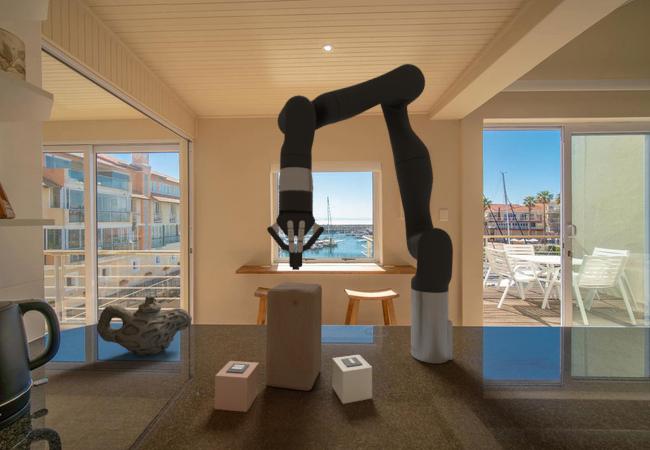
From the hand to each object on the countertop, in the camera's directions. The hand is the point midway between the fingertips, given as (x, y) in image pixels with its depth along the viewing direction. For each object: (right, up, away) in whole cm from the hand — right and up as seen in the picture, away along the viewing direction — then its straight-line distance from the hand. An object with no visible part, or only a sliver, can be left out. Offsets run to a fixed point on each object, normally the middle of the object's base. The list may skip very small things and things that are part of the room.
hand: (295, 269), depth 63 cm
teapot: (-40, -24, +12) cm, 48 cm away
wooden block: (0, -24, -1) cm, 24 cm away
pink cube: (-10, -24, -9) cm, 27 cm away
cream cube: (+12, -24, -6) cm, 27 cm away
